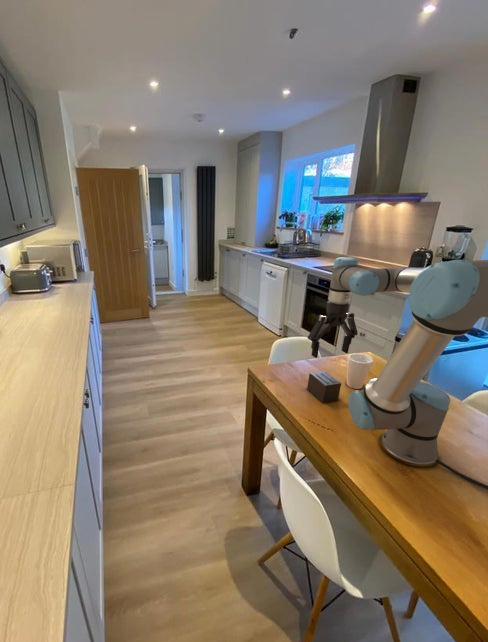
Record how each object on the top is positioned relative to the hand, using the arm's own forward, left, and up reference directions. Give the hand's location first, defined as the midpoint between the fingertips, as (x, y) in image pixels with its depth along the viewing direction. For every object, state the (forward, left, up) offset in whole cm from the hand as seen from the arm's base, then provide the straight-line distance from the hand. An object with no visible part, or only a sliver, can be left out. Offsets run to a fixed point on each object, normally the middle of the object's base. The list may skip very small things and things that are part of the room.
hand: (329, 354), depth 126 cm
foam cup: (+3, -18, -19) cm, 26 cm away
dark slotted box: (+1, 0, -19) cm, 19 cm away
